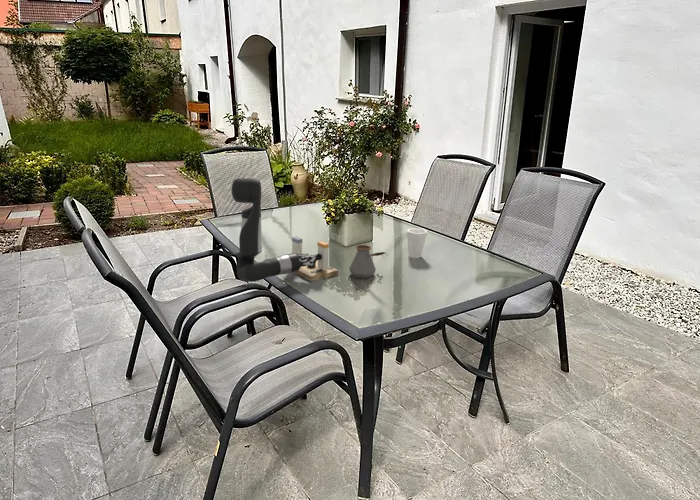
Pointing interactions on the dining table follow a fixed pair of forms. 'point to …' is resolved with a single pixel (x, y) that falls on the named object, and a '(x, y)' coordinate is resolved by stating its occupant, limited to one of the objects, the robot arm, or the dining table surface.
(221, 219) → the dining table surface
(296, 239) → the grey topped white block
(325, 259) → the orange topped white block
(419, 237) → the foam cup
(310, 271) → the light wood flat block
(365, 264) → the coffee pot
